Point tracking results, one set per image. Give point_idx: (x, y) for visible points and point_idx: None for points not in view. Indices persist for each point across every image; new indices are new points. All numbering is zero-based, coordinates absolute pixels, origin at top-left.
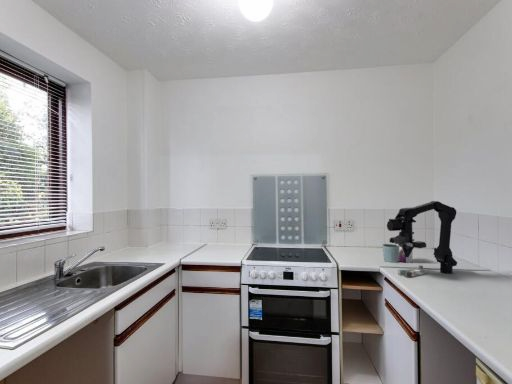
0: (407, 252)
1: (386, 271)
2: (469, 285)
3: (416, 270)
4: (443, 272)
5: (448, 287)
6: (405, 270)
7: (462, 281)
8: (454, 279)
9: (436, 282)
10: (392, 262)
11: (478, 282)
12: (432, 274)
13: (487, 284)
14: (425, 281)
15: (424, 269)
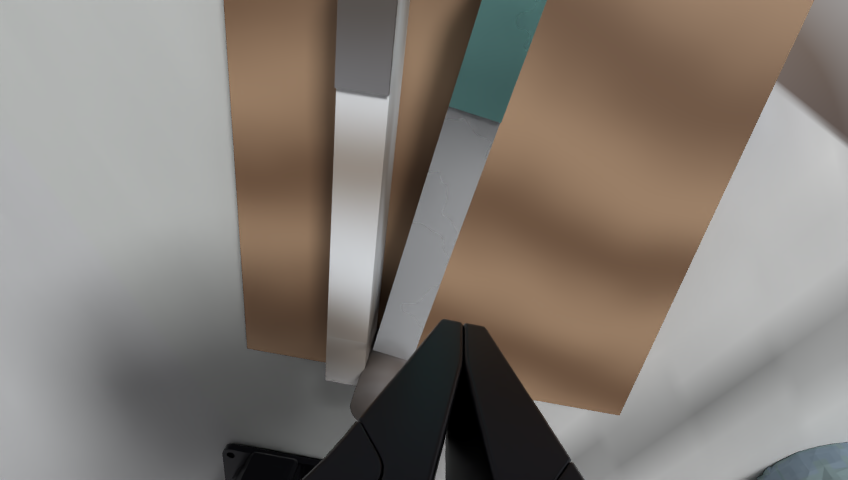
0: (387, 415)
1: (798, 108)
2: (19, 347)
3: (357, 251)
4: (258, 470)
5: (3, 137)
6: (453, 96)
7: (111, 404)
8: (169, 410)
9: (160, 202)
10: (817, 477)
11: (63, 455)
12: (342, 415)
13: (15, 453)
14: (229, 131)
15: (329, 371)
